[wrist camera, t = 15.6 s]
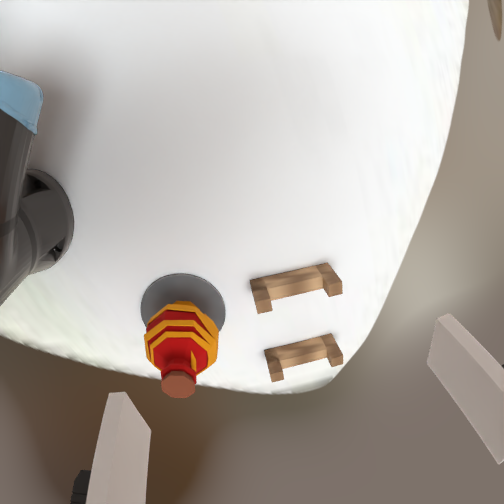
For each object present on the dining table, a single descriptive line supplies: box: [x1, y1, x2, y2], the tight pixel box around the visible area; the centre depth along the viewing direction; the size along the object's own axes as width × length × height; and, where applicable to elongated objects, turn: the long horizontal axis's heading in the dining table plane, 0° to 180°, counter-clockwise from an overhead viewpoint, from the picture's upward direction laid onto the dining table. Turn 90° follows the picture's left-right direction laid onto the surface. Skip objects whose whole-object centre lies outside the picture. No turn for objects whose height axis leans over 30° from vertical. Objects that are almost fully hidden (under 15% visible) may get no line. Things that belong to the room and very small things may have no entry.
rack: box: [250, 263, 343, 382], centre depth 48 cm, size 12×16×6 cm
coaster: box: [141, 274, 225, 331], centre depth 47 cm, size 13×13×1 cm
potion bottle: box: [144, 301, 219, 398], centre depth 40 cm, size 10×10×15 cm
